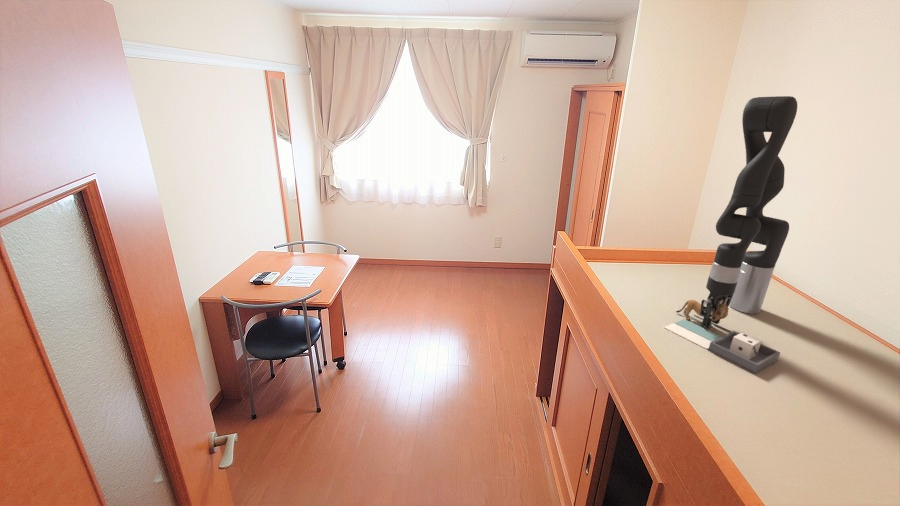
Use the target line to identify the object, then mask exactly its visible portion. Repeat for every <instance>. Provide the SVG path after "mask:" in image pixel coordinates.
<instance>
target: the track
mask: <svg viewBox="0 0 900 506" xmlns="http://www.w3.org/2000/svg"><path fill="white" fill-rule="evenodd" d="M693 316H694V317H696V318H698V319H701V320H702V321H703V318H704V317H702V316H700V315H697V314H693ZM711 325H714V326H715V327H719V328H721V329H722V330H725V331H727V332H729V333H731V332H733V331H732V330H731V329H727V328H725V327H723V326H721V325H719V324H715V323H713V322H712V321H711ZM663 328H664V329H665V328H666V329H665V330H667V331H669V332H671V333H674V334H675V335H677V336H680V337H681V338H683V339H685V340H687V341H689V342H691V343H693V344H694V345H697V346H699V347H701V348H703V349H705V350H708V349H709V346H710V342H712V341H714V340H716V339H719V338H721V337H722V336H721V335H719V334H716V333H715V332H712V331H711V330H709V329H706V328H705V327H703V326H700V325H698V324H696V323H694V322H691V321H690V320H686V318H683V319H680V320H679V321H676V322H673V323H670V324H668V325H666V326H664V327H663Z"/></svg>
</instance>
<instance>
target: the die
mask: <svg viewBox="0 0 900 506" xmlns="http://www.w3.org/2000/svg"><path fill="white" fill-rule="evenodd" d="M762 341H763V340H762V339H760V338H757V337H755V336H753V335H750V334H748V333H745V332H743V331H742V332H740V333H738V335H736V336H734V337H733V340H732V343H731V346H730V351H732V352H734V353H736V354H738V355H740V356H742V357H744V358H747V359H749V360H750V359H752V358H753V357H755V356H757V353H758V350H759V347H760V344H762Z"/></svg>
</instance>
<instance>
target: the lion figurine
mask: <svg viewBox="0 0 900 506" xmlns="http://www.w3.org/2000/svg"><path fill="white" fill-rule="evenodd" d="M711 308H713V309H715V308H714V307H711ZM700 310H701V303H700V302H698V301H697V300H696V299H687V301H685V303H684V305H683V306H682V307H681V309H679V310H676V311H675V313H677V314H678V313H682V311H683V313H682V314H683V315H685V320H687V321H691V318H689V315H690V313H691V312H692V311H694V312H695V313H696V315H697V316H699V317H701V318H704V316H702V315H700ZM710 314H711V313H710ZM728 314H729V306H728V307H727V306H726V305H725V304H721V305H720V306H719V309H718V311H717V312H715V313H714V315H713V317H712V321H717V320H719V319H720V320H724V319H725V318H727V317H728V316H729V315H728ZM712 321H711V322H712ZM711 326H712V324H711V325H710V327H711ZM705 329H706V330H709V329H710V328H705Z"/></svg>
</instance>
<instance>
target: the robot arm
mask: <svg viewBox="0 0 900 506" xmlns="http://www.w3.org/2000/svg"><path fill="white" fill-rule="evenodd" d="M742 112H743V113H742V121H741V123H742V131H743V140H744V146H745V147H744V148H745V162H746V163H745V166H744V167H743V168H742V169H741V171H740V172H739V174H738V176H737V177H736V180H735V184H734V187H733V191H732V194H731V197H730V200H729V202H728V204H727V206H726V207H725V208H724V211H723V212H722V214H721V215H720V216H719V218H718V220H717V222H716V223H715V230H716V233H717V234H718V235H719V236H722V237H728V238H733V239H737V240H740V241H738V242H733V243H732V242H731V243H729V242H728V243H727V242H726V243H721V244H719V245H718V246H717V248H716V252H715V256H714V259H713V262H712V264H711V268H710V271H709V275H708V278H707V280H706V281H707V282H706V286H705V288H706V289H707V290H708V291H709V294H708V296H707V299H702V300H701V303H700V304H701V310H700V315H702V316H704V317H702V316H701V317H702V318H703V320H702V322H701V327H702V328H704V329H706V328H709V329H710V328H711V326H712V324H711V322H712V323H714V324H717V325H719V324H720V322H721V319H719V320H717V321H712V317H713V315H714V313H715V312H717V311H718V309H719V306H720V305H721V304H725V305H726V306H727V307H728V308H729V307H731V308H732V309H733V310H735V311H737V312H741V313H745V314H750V315H757V314H759V313H761V311H762V306H763V305H764V301H765V298H766V295H767V292H768V289H769V285H770V282H771V280H772V276H773V273H774V269H775V267H776V264H777V262H778V260H779V257H780V255H781V252H782V249H783V247H784V244H785V242H786V239H787V237H788V235H789V231H790V223H789V222H788V221H787V220H784V219H780V218H775V217H770V216H766V215H764V214H763V211H764V208H765V207H766V205H768V204H769V203H770V202H772V200H773V199H774V198H776V197H777V196H778V194H780V192H781V191H782V190H783V189H784V186H785V185H784V184H785V171H786V169H785V165H784V163H783V161H782V160H781V158H780V157H779V154H780V153H781V150H782V148H783V146H784V144H785V142H786V140H787V138H788V135H789V133H790V130H791V129H792V126H793V124H794V121H795V119H796V116H797V112H798V101H797V99H796V98H795V97H794V96H790V95H789V96H788V95H787V96H786V95H784V96H783V95H781V96H779V95H778V96H758V97H753V98H751V99H749V100H747V102H746V104H745V105H744V108H743V111H742ZM765 133H771V134H770V136H769V138H768V141H767V140H766V137H765V136H766V135H765ZM744 208H745V209H746V210H745V215H744V214H740V213H739V214H738V213H736V211H737V210H738V209H744ZM752 243H755V244H758V245H762V246H765V248H764V249H763V250H751V251H750V250H749V251H747V250H748V248H749V247H750V245H751V244H752ZM711 307H714V308H715V309H713V308H711ZM710 313H711V314H710ZM700 315H699V316H700ZM710 325H711V326H710Z"/></svg>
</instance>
